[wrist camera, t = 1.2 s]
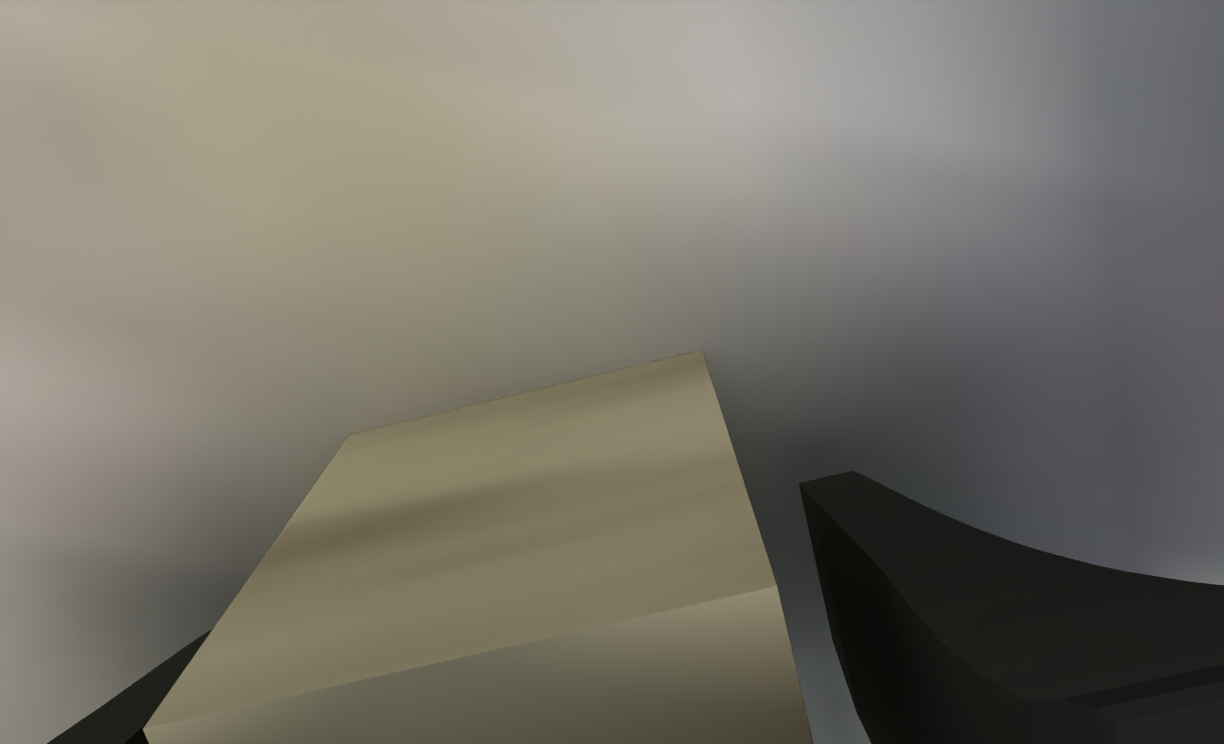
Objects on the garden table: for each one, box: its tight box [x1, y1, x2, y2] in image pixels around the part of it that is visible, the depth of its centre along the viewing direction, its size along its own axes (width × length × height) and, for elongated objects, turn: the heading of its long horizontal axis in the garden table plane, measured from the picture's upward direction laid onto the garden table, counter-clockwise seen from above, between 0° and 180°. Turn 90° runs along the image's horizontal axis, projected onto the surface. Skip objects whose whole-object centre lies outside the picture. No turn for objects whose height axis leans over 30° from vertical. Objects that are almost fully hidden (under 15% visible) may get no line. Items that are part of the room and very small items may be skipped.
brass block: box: [143, 350, 813, 744], centre depth 11 cm, size 4×4×6 cm
